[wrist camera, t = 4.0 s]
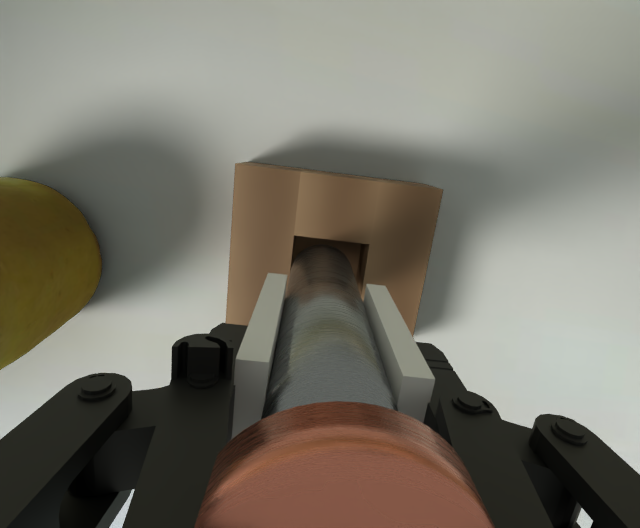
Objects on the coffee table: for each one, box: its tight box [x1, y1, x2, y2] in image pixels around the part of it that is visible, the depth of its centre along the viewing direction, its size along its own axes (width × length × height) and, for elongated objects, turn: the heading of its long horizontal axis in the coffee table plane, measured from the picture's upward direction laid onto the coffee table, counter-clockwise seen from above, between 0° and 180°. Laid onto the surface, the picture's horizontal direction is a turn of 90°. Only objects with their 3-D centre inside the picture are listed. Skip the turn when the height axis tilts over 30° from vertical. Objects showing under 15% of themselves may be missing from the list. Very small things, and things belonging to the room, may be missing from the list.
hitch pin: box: [194, 244, 495, 528], centre depth 13 cm, size 5×5×16 cm
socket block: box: [226, 162, 443, 337], centre depth 22 cm, size 10×10×4 cm
